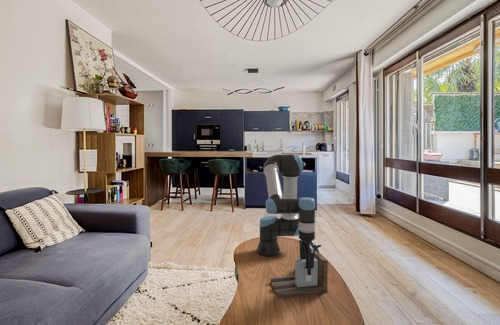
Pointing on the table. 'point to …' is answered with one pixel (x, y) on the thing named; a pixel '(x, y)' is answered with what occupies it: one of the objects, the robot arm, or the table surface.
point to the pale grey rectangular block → (300, 273)
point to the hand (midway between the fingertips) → (306, 279)
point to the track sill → (288, 287)
